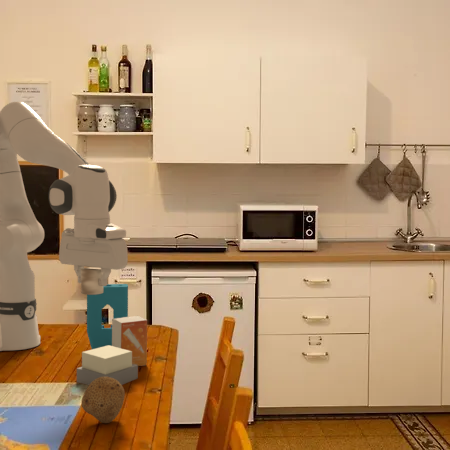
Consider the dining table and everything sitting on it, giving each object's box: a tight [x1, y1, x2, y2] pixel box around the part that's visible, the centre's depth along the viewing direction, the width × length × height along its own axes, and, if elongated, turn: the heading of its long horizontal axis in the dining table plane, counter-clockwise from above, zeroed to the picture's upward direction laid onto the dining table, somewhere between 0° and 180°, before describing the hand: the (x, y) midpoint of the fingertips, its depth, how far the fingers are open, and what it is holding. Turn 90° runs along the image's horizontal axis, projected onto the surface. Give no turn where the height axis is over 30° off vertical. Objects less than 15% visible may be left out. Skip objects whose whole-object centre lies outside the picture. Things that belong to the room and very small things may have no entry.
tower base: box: [76, 364, 139, 386], centre depth 164 cm, size 11×11×4 cm
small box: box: [111, 315, 148, 367], centre depth 178 cm, size 8×6×13 cm
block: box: [86, 283, 129, 350], centre depth 191 cm, size 12×5×20 cm, turn 101°
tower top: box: [81, 345, 132, 375], centre depth 164 cm, size 9×9×4 cm
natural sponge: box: [81, 377, 126, 424], centre depth 136 cm, size 9×9×10 cm
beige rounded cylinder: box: [80, 267, 103, 296], centre depth 160 cm, size 6×6×6 cm
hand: (92, 284), depth 160 cm, fingers closed on beige rounded cylinder, 5 cm apart
